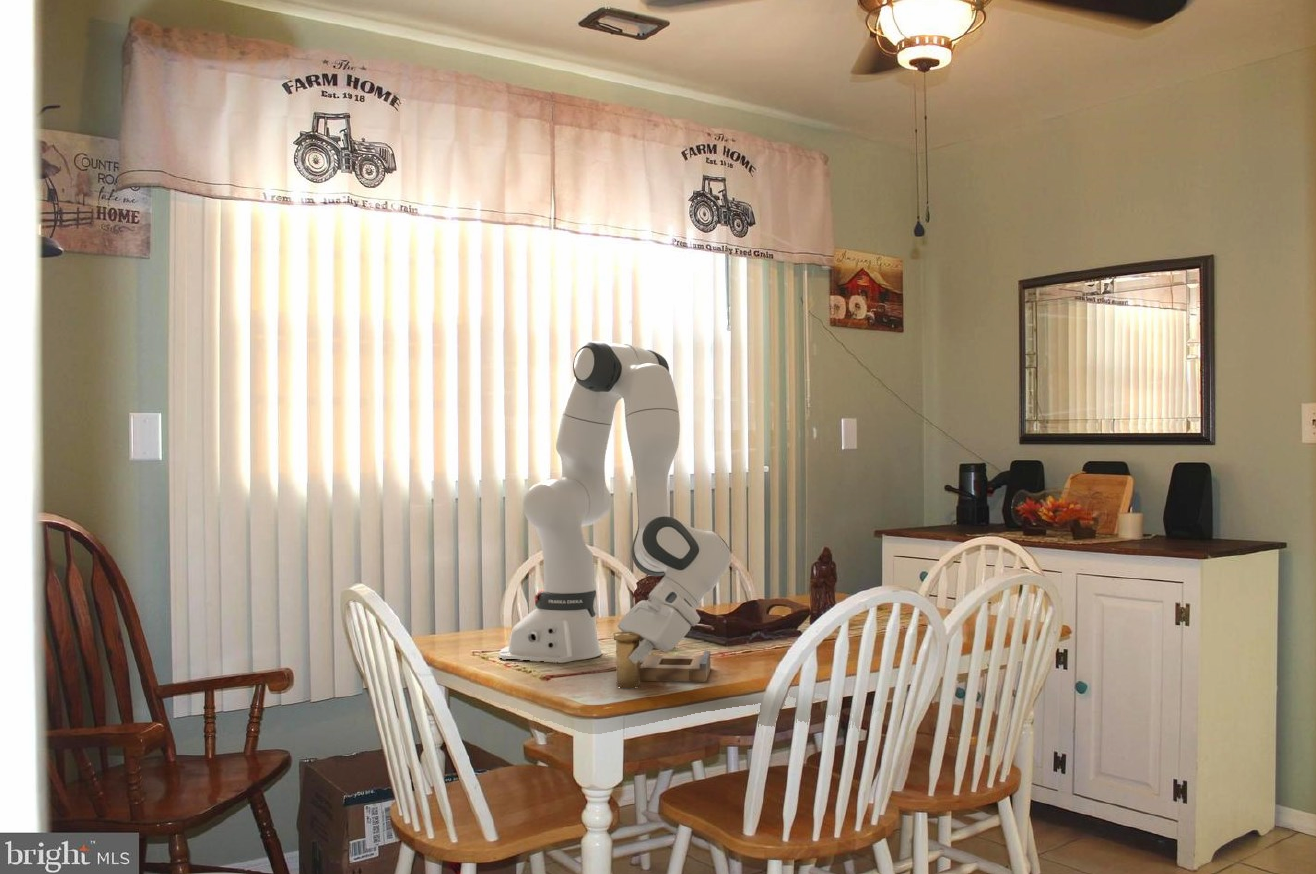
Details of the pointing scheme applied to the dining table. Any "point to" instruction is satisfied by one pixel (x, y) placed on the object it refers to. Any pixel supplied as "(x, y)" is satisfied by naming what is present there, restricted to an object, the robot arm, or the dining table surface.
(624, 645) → the bushing
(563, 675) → the dining table surface
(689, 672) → the jig
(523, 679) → the dining table surface
